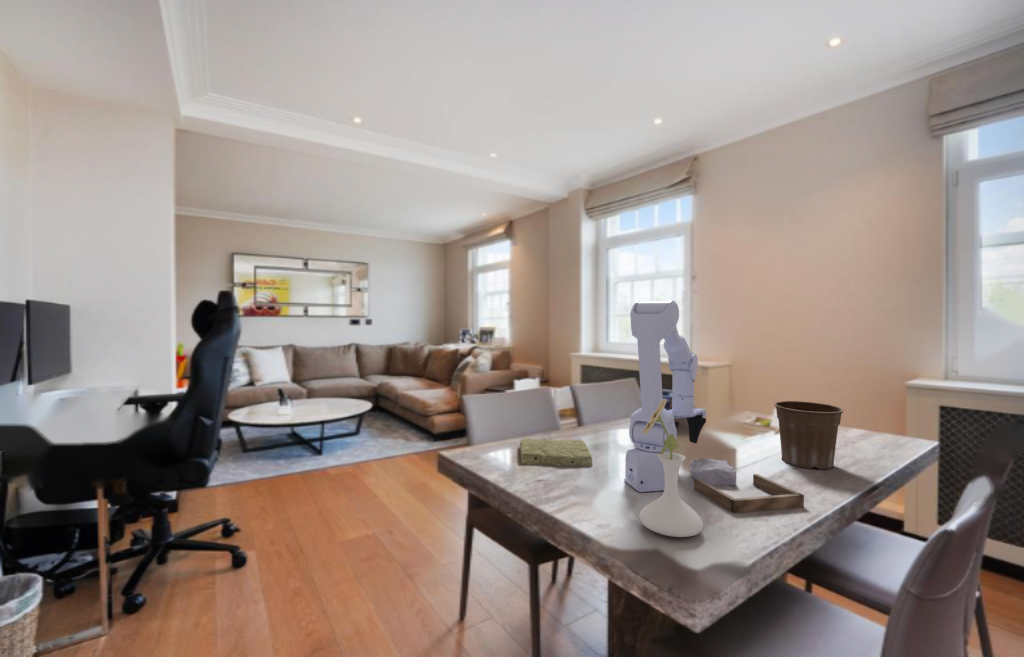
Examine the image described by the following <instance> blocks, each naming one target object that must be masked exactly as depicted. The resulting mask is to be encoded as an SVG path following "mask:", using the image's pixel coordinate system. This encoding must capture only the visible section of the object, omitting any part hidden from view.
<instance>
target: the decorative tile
mask: <svg viewBox="0 0 1024 657" xmlns="http://www.w3.org/2000/svg"><path fill="white" fill-rule="evenodd" d="M519 442H520V443H519V452H520V463H521V464H522V465H547V466H548V465H552V466H557V467H561V466H564V467H593V457H592V454H591V452H590V450H589V448H588V446H587V444H586V442H585V440H579V439H578V440H577V439H576V440H575V439H574V440H573V439H545V438H544V439H542V438H540V439H533V438H523V439H521V440H520V441H519Z"/></svg>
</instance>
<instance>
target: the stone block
mask: <svg viewBox="0 0 1024 657" xmlns="http://www.w3.org/2000/svg"><path fill="white" fill-rule="evenodd" d="M735 469H736V468H734V467H733V466H732V465H729V461H728V460H719V459H713V458H700V459H694V460H691V461H690V462H689V470H690V473H691V475H692V479H694V478H699V479H700V480H702V481H704V482H706V483H708V484H709V485H711V486H725V487H729V486H730V487H736V486H737V472H736V470H735Z"/></svg>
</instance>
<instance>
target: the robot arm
mask: <svg viewBox="0 0 1024 657" xmlns="http://www.w3.org/2000/svg"><path fill="white" fill-rule="evenodd" d="M629 315H630V330H631V336H633V338H635V339H636V340H637V353H638V355H637V356H638V369H639V371H638V372H639V386H640V388H639V390H640V400H641V401H640V405H641V407H639V408H638V409H636V410H635V411H634V412H632V414H631V415H630V422H629V423H630V424H629V430H628V432H629V433H628V435H629V439H630V440H631V443H633V444H634V448H630V449H628V450H627V451H626V454H625V472H624V473H625V474H624V475H625V478H624V479H623V481H624V482H625V483H626V484H628V485H629V487H630V486H631V487H632V488H633V489H634V490H636V492H639V493H645V492H660V491H664V489H665V475H664V468H663V465H662V462H661V460H660V459H659V457H658V454H659V453H661V451H662V448H663V447H664V446H665V443H664V441H665V440H666V439H667V435H666V432H665V430H664V428H663V426H662V424H661V422H655V423H654V425H653V426H652V428H651V429H650V430H649V432H648V433H647V434H646V435H645V434H643V433H644V432H643V433H642V431H643V430H644V428H645V426H646V424H647V423H648V422H649V421H650V419H651V417H652V415H653V413H654V412H655V411H656V410H657V408H658V406H659V404H660V402H661V401H662V399H664V398H663V384H662V383H663V382H662V362H661V345H660V344H661V341H662V340H663V339H664V342H663V348H664V350H665V352H666V355H667V356H668V358H667V359H668V360H667V361H668V367H669V370H670V372H672V373H671V374H672V383H671V384H672V386H671V387H672V389H671V392H672V393H671V394H672V395H671V409H668V410H667V409H666V407H664V409H663V410H662V412H661V414H660V416H661V420H662V421H663V423H664V425H665V427H666V430H667V432H668V435H669V436H670V435H671V434H673V435H674V437H675V439H676V440H677V437H678V436H677V435H678V434H677V433H678V427H679V424H680V422H679V421H676V420H675V419H683V418H684V419H685V418H686V420H687V425H688V439H689V442H690V443H692V444H697V443H698V440H699V436H700V433H701V431H702V429H703V427H704V425H705V424H706V423H707V418H706V416H707V415H706V414H707V413H706V411H707V410H706V409H704V408H695V379H697V371H698V366H699V361H698V360H699V358H698V355H697V354H694V352H692V351H691V349H690V346H689V345H688V343H687V340H686V338H685V337H684V336H683V335H680V333H679V331H678V327H677V324H678V322H679V319H680V309H679V305H678V304H677V302H676V301H675V300H661V301H658V300H657V301H656V300H655V301H638V300H637V301H635V302H634V304H633V305H632V306H631V310H630V314H629ZM665 452H670V450H669V449H668V448H667V449H666V451H665Z"/></svg>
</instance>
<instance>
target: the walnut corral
mask: <svg viewBox="0 0 1024 657" xmlns="http://www.w3.org/2000/svg"><path fill="white" fill-rule="evenodd" d="M752 476H753V477H752V478H753V479H752V484H753V486H755V487H757V488H759V489H761V490H764V491H766V492H767V493H770V494H771V495H764V496H753V497H752V496H751V497H738V498H734V497H732V496H731V495H729V494H728V493H725V492H724V491H722V490H720V489H718V488H716V487H715V486H714V485H709V484H708V483H706V482H704V481H702V480H700V479H699V478H693V490H694V491H697V492H698V493H700V494H701V495H703V496H705V497H706V498H709V499H710V500H711V501H714V502H715V503H716V504H719V505H720V506H721V507H722V508H725V509H726V510H728V511H730V512H731V513H733V514H738V513H750V512H759V511H760V512H761V511H772V510H783V509H795V508H804V507H805V494H802V493H800V492H798V491H796V490H793V489H792V488H789V487H786V486H784V485H782V484H780V483H777V482H776V481H773V480H771V479H769V478H766V477H764V476H762V475H760V474H758V473H753V475H752Z"/></svg>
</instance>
